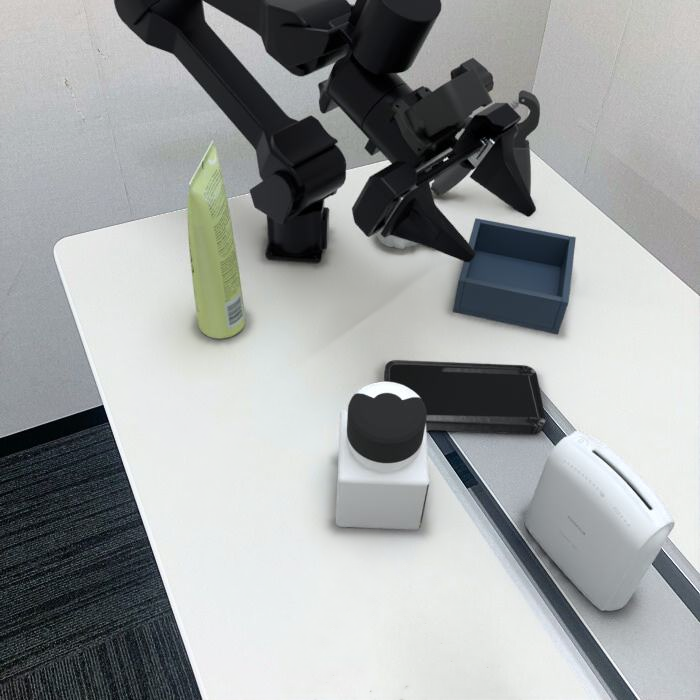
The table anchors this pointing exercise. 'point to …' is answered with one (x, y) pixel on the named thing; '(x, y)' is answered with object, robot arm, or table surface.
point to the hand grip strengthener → (520, 150)
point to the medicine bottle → (382, 459)
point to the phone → (473, 395)
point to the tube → (213, 252)
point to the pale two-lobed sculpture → (394, 241)
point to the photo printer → (597, 520)
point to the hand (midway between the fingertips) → (503, 235)
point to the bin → (516, 276)
